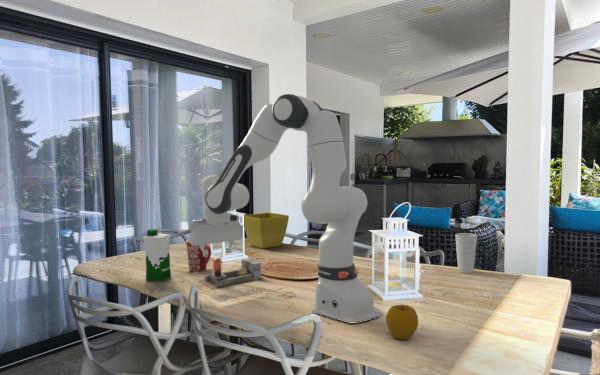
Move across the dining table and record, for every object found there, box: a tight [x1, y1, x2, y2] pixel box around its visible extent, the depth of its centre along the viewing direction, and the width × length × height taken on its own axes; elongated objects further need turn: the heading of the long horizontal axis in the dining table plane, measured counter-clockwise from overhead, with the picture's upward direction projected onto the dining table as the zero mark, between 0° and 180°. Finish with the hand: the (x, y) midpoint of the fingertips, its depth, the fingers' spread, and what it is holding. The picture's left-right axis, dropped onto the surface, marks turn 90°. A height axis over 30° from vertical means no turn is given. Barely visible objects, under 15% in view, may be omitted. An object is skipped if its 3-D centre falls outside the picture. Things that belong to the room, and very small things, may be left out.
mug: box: [185, 238, 212, 273], centre depth 187 cm, size 13×9×14 cm
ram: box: [208, 257, 227, 284], centre depth 165 cm, size 7×4×9 cm, turn 36°
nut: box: [237, 266, 248, 276], centre depth 172 cm, size 4×4×4 cm
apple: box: [385, 304, 419, 340], centre depth 117 cm, size 8×8×9 cm
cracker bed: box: [197, 257, 265, 291], centre depth 169 cm, size 14×22×8 cm, turn 126°
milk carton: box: [142, 228, 172, 282], centre depth 177 cm, size 9×9×20 cm
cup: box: [455, 232, 478, 274], centre depth 180 cm, size 8×8×16 cm
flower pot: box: [243, 212, 290, 249], centre depth 238 cm, size 19×19×17 cm
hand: (217, 254), depth 164 cm, fingers open, 8 cm apart
